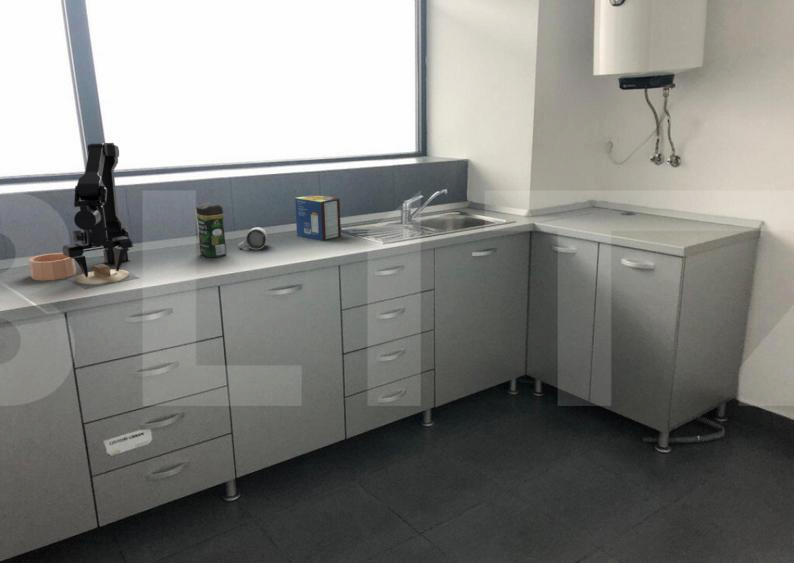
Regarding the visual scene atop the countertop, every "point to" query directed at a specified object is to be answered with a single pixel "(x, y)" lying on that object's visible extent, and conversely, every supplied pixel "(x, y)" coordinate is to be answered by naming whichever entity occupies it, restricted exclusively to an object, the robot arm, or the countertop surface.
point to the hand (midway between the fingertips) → (102, 273)
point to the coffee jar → (211, 229)
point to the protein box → (318, 217)
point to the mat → (101, 284)
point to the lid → (102, 276)
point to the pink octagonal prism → (51, 267)
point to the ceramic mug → (255, 239)
